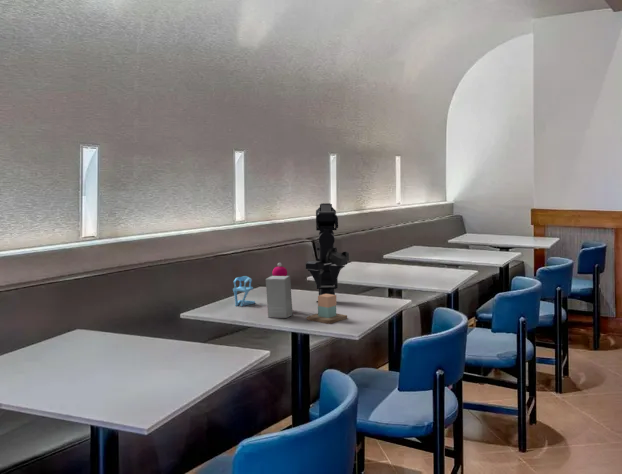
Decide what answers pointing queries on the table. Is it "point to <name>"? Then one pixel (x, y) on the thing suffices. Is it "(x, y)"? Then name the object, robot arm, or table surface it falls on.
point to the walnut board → (327, 320)
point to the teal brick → (327, 311)
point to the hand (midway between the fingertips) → (326, 285)
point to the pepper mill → (279, 270)
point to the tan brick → (327, 300)
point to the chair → (243, 289)
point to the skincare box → (279, 296)
